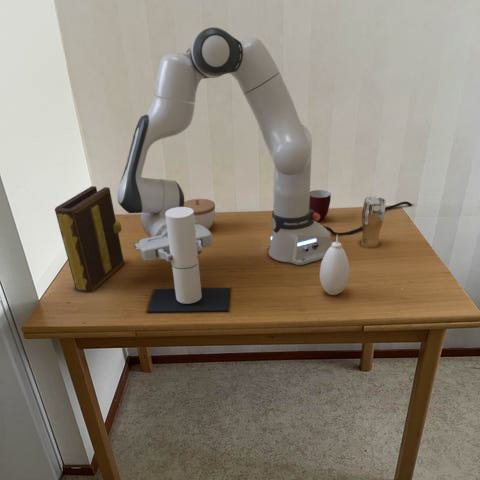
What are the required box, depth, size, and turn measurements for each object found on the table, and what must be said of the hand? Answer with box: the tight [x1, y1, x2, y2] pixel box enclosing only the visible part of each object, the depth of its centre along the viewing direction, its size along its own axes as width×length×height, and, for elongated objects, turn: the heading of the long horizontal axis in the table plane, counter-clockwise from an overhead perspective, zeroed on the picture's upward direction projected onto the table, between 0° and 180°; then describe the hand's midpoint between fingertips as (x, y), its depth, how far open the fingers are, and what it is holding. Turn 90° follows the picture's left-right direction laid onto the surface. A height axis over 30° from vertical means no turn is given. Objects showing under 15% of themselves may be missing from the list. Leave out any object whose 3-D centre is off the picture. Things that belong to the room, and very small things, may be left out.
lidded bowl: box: [184, 198, 216, 231], centre depth 176 cm, size 13×13×11 cm
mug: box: [309, 189, 332, 223], centre depth 178 cm, size 11×8×10 cm
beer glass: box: [360, 196, 386, 248], centre depth 159 cm, size 7×7×15 cm
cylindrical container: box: [165, 207, 202, 304], centre depth 130 cm, size 7×7×25 cm
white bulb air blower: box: [319, 234, 350, 296], centre depth 133 cm, size 8×8×18 cm
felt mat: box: [146, 287, 231, 314], centre depth 138 cm, size 22×12×1 cm, turn 88°
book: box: [54, 185, 125, 293], centre depth 146 cm, size 22×8×25 cm, turn 162°
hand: (185, 254), depth 129 cm, fingers closed on cylindrical container, 7 cm apart
